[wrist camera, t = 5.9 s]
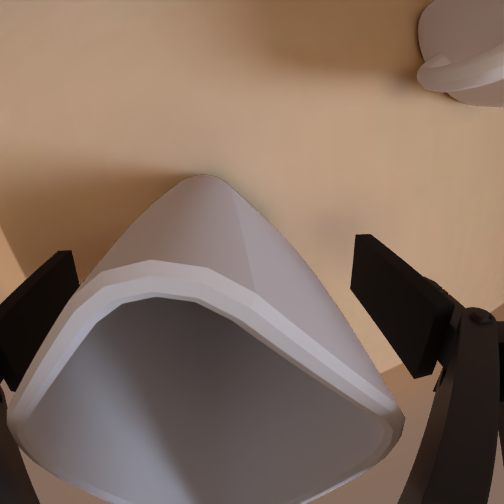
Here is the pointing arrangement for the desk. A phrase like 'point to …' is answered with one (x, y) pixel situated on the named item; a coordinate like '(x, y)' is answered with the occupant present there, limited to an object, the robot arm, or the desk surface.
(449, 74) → the mug
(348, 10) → the desk surface
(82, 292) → the cup
